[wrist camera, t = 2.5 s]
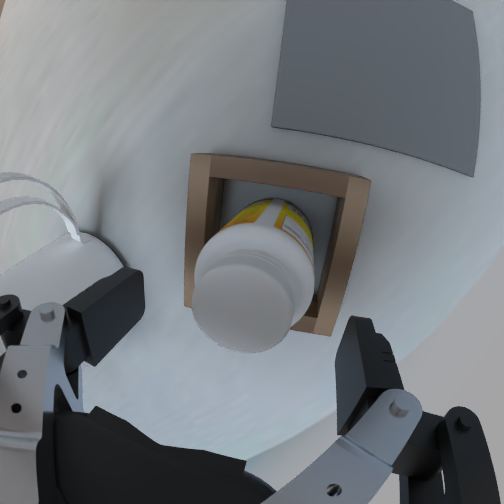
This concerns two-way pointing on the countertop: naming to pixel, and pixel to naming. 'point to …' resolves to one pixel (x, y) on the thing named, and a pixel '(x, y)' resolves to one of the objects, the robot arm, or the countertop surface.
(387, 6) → the rubber mat
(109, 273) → the coffeepot
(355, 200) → the collar holder
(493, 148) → the countertop surface
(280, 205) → the supplement bottle
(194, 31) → the countertop surface
